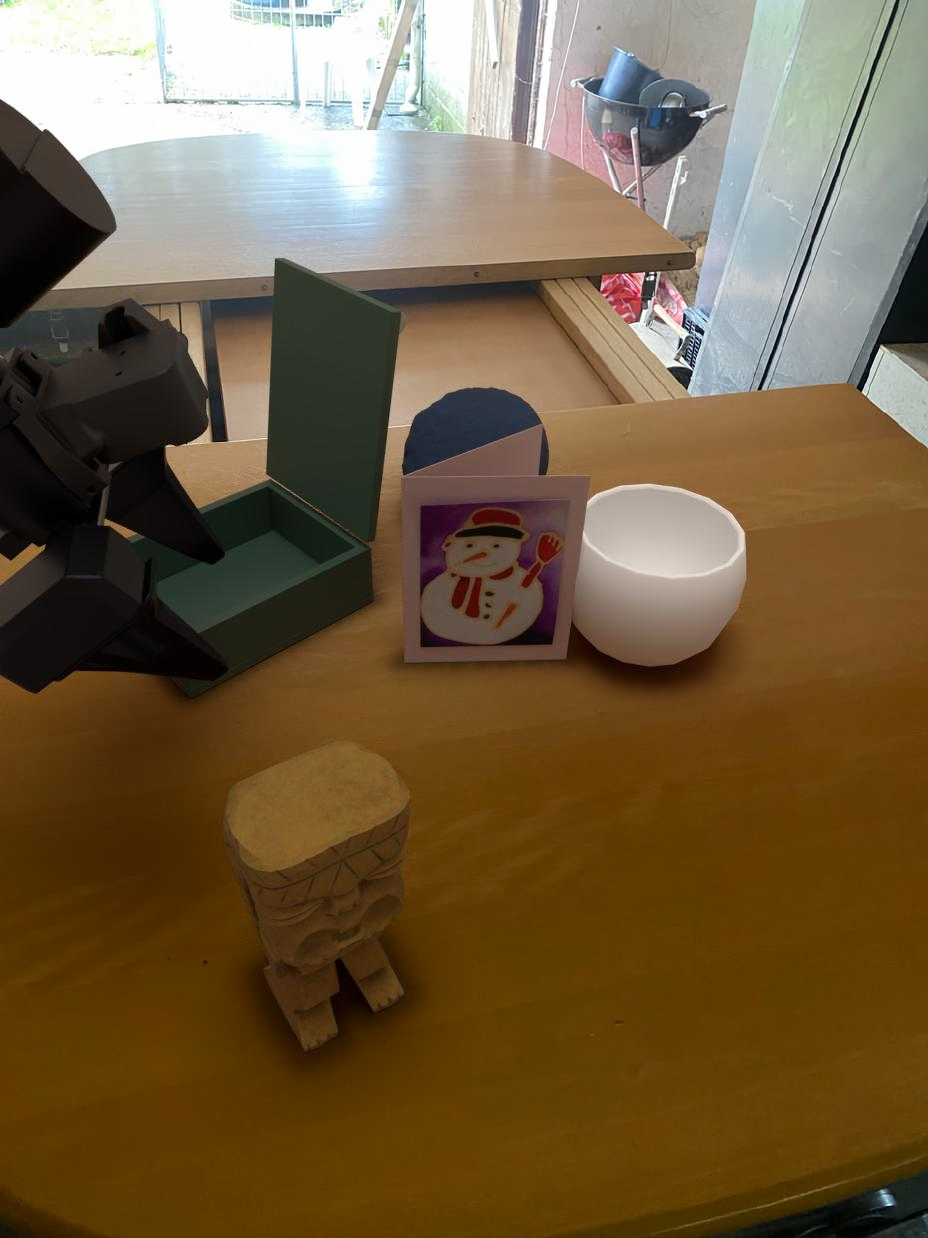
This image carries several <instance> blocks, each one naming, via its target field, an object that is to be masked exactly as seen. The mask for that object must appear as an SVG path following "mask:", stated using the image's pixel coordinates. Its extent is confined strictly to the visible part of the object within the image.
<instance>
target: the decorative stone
mask: <svg viewBox="0 0 928 1238" xmlns="http://www.w3.org/2000/svg"><path fill="white" fill-rule="evenodd" d="M540 424H543V422H542V419H541V418H540V416H539V414H538V413H537V411H536V410H535V408H533V407H532V406H531V404H530V403H528V402H527V401H526V400H525V399H523V398H522V397H521V396H519V395H516V394H515V393H512V392H511V391H508V390H505V389H502V388H501V389H500V388H496V387H493V386H489V387H477V386H476V387H475V386H474V387H465V388H459V389H457V390H454V391H449V392H446V393H445V394H444V395H443V396H442V397H441V398H440V399H438V400H436V401H435V402H433V403H431V404H430V405H429V406H428V407H427V408H424V409H422V410H420V411H419V412H418V413H416V414H415V415H414V417H413V419H412V422H411V425H410V428H409V431H408V436H407V437H406V440H405V443H404V448H403V456H402V457H403V459H402V464H401V472H402V476H405V475H407V474H410V473H413V472H415V471H418V470H421V469H423V468H426V467H429V466H431V465H434V464H437V463H439V462H442V461H445V460H447V459H450V458H453V457H455V456H458V455H460V454H463V453H466V452H468V451H471V450H474V449H476V448H479V447H482V446H484V445H487V444H490V443H492V442H495V441H498V440H500V439H503V438H506V437H508V436H511V435H514V434H516V433H519V432H522V431H524V430H527V429H530V428H532V427H535V426H538V425H540ZM549 462H550V448H549V441H548V435H547V433H546V429H545V426H544V425H543V431H542V441H541V452H540V463H539V474H538V476H547V474H548V473H547V472H548V469H549Z"/></svg>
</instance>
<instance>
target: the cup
mask: <svg viewBox="0 0 928 1238" xmlns="http://www.w3.org/2000/svg"><path fill="white" fill-rule="evenodd" d="M746 581H747V545H746V532H745V531H744V529H743V528H742V526H741V525H740V523H739V522H738V521H737V519H736V518H735V516H734V515H733V513H732V512H730V511H729V510H727V509H726V508H725V507H723V506H721V505H720V504H719V503H717V502H716V501H714V500H713V499H711V498H710V497H707V496H704V495H702V494H698V493H696V492H692V491H690V490H687V489H684V488H681V487H677V486H669V485H662V484H655V483H639V484H626V485H619V486H615V487H612V488H609V489H606V490H603V491H601V492H597V493H596V494H593V496H592V497H591V498H590V499H588V501H587V508H586V515H585V523H584V530H583V538H582V545H581V552H580V560H579V567H578V573H577V576H576V583H575V591H574V598H573V611H572V619H571V621H572V622H573V626H575V628H576V629H577V631H578V632H580V634H581V635H582V636H583V637H584V638H585V639H586V640H587V641H588V642H589V643H590V644H591V645H592V646H593V647H594V648H596V649H597V650H598V651H599V652H600V653H603V654H604V655H607V656H609V657H611V658H613V659H616V660H618V661H620V662H622V663H626V664H632V665H638V666H644V667H648V668H649V667H660V666H669V665H676V664H677V663H680V662H682V661H684V660H687V659H689V658H691V657H693V656H695V655H697V654H699V653H701V652H703V651H705V650H707V649H710V647H711V645H712V644H713V642H714V641H715V640H716V639H717V638H718V636H719V635H720V634H721V633H722V631H723V630H724V628H725V627H726V626H727V624H728V623H729V621H730V620H731V618H732V617H733V616H734V614H736V612H737V610H738V609H739V606H740V603H741V599H742V595H743V592H744V589H745V585H746Z"/></svg>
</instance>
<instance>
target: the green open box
mask: <svg viewBox="0 0 928 1238" xmlns="http://www.w3.org/2000/svg"><path fill="white" fill-rule="evenodd" d="M197 509H198V510H199V512H200V513H201V515H202V516H203V517H204V519H205V520H206V522H207V523H208V525H209V526H210V528H211V529H212V531H213V532H214V534H215V535H216V537H217V538H218V540H219V541H220V543H221V544H222V545H223V547H224V549H225V556H224V557H223V558H222V559H221V560H219V561H218V562H217V563H215V564H213V565H210V564H207V563H204V562H202V561H199V560H196V559H194V558H191V557H188V556H186V555H184V554H181V553H179V552H177V551H175V550H173V549H171V548H168V547H166V546H164V545H162V544H160V543H157V542H155V541H153V540H151V539H149V538H147V537H144V536H142V535H140V534H138V533H135V534H133V535H131V536H128V537H126V538H127V539H128V540H129V541H130V542H131V543H132V544H133V546H134V548H135V549H136V551H137V552H138V554H139V556H140V557H141V559H142V561H143V562H144V563H145V562H146V561H147V560H148V559H150V558H151V557H153V558H154V559H155V562H156V581H157V594H158V597H159V598H160V599H161V600H162V601H163V602H164V603H165V604H166V605H167V606H168V607H170V608H171V609H172V610H173V611H174V612H175V613H176V614H177V615H178V616H179V617H181V618H182V619H183V620H184V621H185V622H186V623H187V624H188V625H189V626H190V627H192V628H193V629H194V630H195V631H196V632H197V633H198V634H199V635H200V636H201V637H203V638H204V639H205V640H206V641H207V642H208V643H209V644H210V645H211V646H212V647H213V648H214V649H215V650H216V651H217V652H218V653H219V654H220V655H221V656H222V657H223V658H224V659H225V660H226V662H227V663H228V671H227V672H226V673H225V674H224V675H222V676H221V677H219V678H218V679H217V680H215V681H204V680H195V679H186V678H177V677H169V678H170V680H172V681H173V682H174V683H175V685H176V686H178V687H179V689H181V690H182V691H183V692H184V694H185V695H187V697H189V698H190V699H193V698H196V697H198V696H199V695H201V694H204V693H205V692H207V691H208V690H210V689H212V688H214V687H216V686H218V685H220V684H221V683H223V682H225V681H227V680H229V679H231V678H233V677H235V676H236V675H239V674H240V673H242V672H244V671H246V670H248V669H250V668H252V667H254V666H255V665H257V664H259V663H261V662H262V661H264V660H267V659H268V658H270V657H272V656H274V655H276V654H278V653H280V652H281V651H283V650H285V649H286V648H289V647H290V646H292V645H294V644H296V643H298V642H300V641H302V640H304V639H305V638H307V637H309V636H311V635H313V634H315V633H316V632H318V631H320V630H322V629H324V628H326V627H328V626H330V625H332V624H334V623H336V622H337V621H339V620H341V619H342V618H345V617H346V616H349V615H350V614H352V613H355V612H356V611H358V610H360V609H361V608H363V607H365V606H367V605H369V604H372V602H373V603H374V586H373V585H374V583H373V561H372V559H373V558H372V547H371V546H370V545H368V543H366V542H364V541H363V540H362V539H360V538H359V537H357V536H356V535H354V534H353V533H351V532H350V531H348V530H347V529H345V528H344V527H343V526H341V525H340V524H338V523H337V522H335V521H334V520H332V519H331V518H329V517H328V516H326V515H325V514H324V513H322V512H321V511H319V510H318V509H316V508H315V507H313V506H312V505H310V504H309V503H307V502H306V501H305V500H303V499H302V498H300V497H299V496H297V495H296V494H294V493H293V492H291V491H290V490H288V489H287V488H286V487H284V486H283V485H281V484H280V483H278V482H277V481H275V480H274V479H272V478H269V479H266V480H264V481H262V482H259V483H257V484H254V485H252V486H249V487H247V488H244V489H242V490H240V491H237V492H235V493H233V494H230V495H228V496H225V497H223V498H220V499H218V500H216V501H212V502H210V503H208V504H206V505H204V506H201V507H197Z"/></svg>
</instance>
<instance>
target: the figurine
mask: <svg viewBox="0 0 928 1238" xmlns="http://www.w3.org/2000/svg"><path fill="white" fill-rule="evenodd" d="M226 798H227V799H226V802H225V803H226V804H225V807H224V812H223V818H222V819H223V820H222V836H223V844H224V847H225V850H226V853H227V857H228V860H229V863H230V865H231V869H232V871H233V875H234V877H235V881H236V883H237V885H238V887H239V890H240V894H241V897H242V899H243V902H244V905H245V907H246V910H247V912H248V915H249V918H250V920H251V922H252V925H253V928H254V931H255V933H256V935H257V939H258V940H259V943H260V946H261V948H262V950H263V954H264V955H265V957H266V958H267V960H268V963H269V965H267V966H265V967H264V968H262V972H263V976H264V977H265V981H266V982H267V985H268V986H269V989H270V990H271V992H272V994H273V996H274V998H275V1000H276V1002H277V1004H278V1006H279V1008H280V1010H281V1011H282V1014H283V1016H284V1017H285V1019H286V1020H287V1023H288V1025H289V1026H290V1029H291V1030H292V1031H293V1033H294V1034H295V1036H296V1038H297V1040H298V1042H299V1044H300V1045H301V1048H302V1050H303V1051H304V1053H305V1054H307V1053H309V1052H311V1051H315V1049H316V1050H317V1049H319V1048H320V1047H321V1046H323V1045H325V1044H326V1043H328V1042H329V1041H330V1040H332V1039H333V1038H335V1037H337V1036H338V1033H339V1029H338V1025H337V1022H336V1018H335V1015H334V1010H333V1007H332V1003H331V1002H332V1001H331V997H332V996H334V995H335V994H337V993H338V992H340V983H339V976H338V971H337V965H336V960H338V959H340V960H341V962H342V964H343V966H344V967H345V969H346V971H347V972H348V974H349V976H350V977H351V978H352V980H353V981H354V982H355V984H356V985H357V987H358V989H359V990H360V992H361V993H362V995H363V997H364V998H365V1000H366V1001H367V1003H368V1005H369V1006H370V1008H371V1010H372V1011H373V1012H374V1013H377V1012H380V1011H382V1010H384V1009H387V1008H389V1007H390V1006H392V1005H394V1004H395V1003H397V1002H398V1001H400V1000H401V999H402V998H404V997H405V990H404V989H403V987H402V985H401V982H400V981H399V978H398V977H397V975H396V973H395V971H394V969H393V967H392V966H391V963H390V960H389V959H388V956H387V954H386V952H385V950H384V948H383V945H382V944H381V942H380V940H379V937H382V935H383V934H384V933H385V932H386V927H387V926H388V925H389V924H390V923H391V922H392V921H393V920H394V919H396V918H397V917H398V916H399V914H400V912H401V911H402V908H403V905H404V901H405V898H406V897H405V896H406V887H405V881H404V877H403V874H402V872H401V869H402V867H404V866H405V864H406V861H407V859H408V854H407V851H408V849H407V843H406V841H407V839H408V834H409V828H410V826H409V825H410V813H411V811H410V800H411V799H410V798H411V797H410V790H409V787H408V786H407V785H406V783H405V781H403V779H402V778H401V776H399V774H398V773H397V772H396V771H395V769H394V768H393V766H392V764H391V762H390V761H389V760H388V759H386V758H384V757H383V756H382V755H380V754H379V753H375V752H372V751H370V750H369V749H366V748H365V747H364V746H362V745H361V744H359V743H357V742H356V741H355V742H354V741H351V740H348V739H342V740H337V741H331V742H329V743H328V744H323V745H321V746H318V747H316V748H313V749H311V750H307V751H306V752H302V753H300V754H298V755H296V756H293V757H291V758H288V759H286V760H284V761H282V762H279V763H277V764H275V765H272V766H270V767H267V768H266V769H263V770H261V771H259V772H257V773H255V774H252V775H250V776H248V777H247V778H246V777H245V779H242V780H240V781H238V782H236V783H235V784H234V785H233V786H232V787H231V788H230V789H229V792H228V795H227V797H226Z"/></svg>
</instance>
